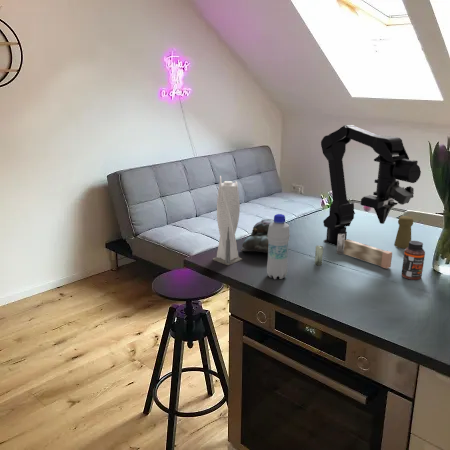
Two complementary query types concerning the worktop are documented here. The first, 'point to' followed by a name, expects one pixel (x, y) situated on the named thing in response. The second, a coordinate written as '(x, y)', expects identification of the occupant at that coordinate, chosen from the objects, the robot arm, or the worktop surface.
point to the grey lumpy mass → (258, 237)
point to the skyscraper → (227, 222)
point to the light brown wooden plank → (368, 253)
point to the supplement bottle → (413, 261)
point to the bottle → (278, 247)
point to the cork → (404, 232)
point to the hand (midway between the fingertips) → (382, 223)
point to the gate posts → (339, 249)
